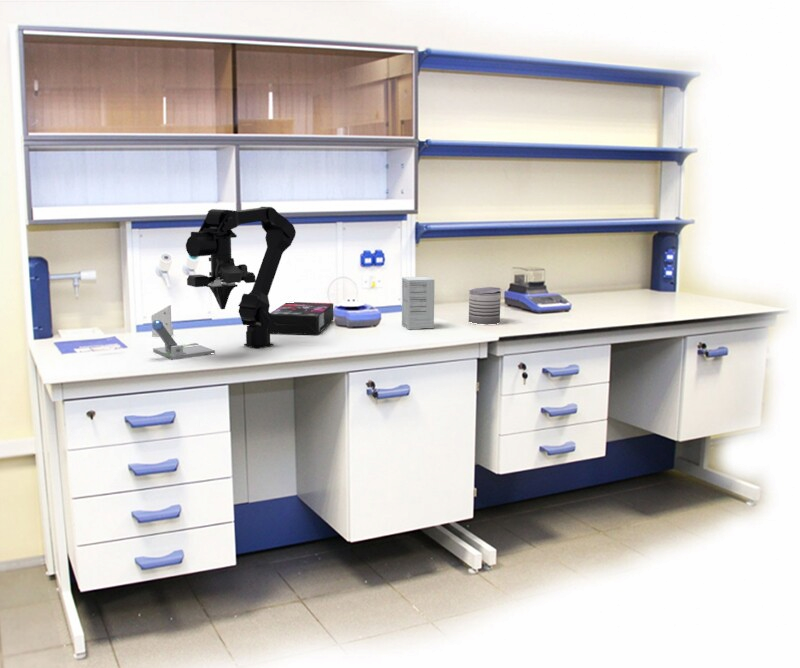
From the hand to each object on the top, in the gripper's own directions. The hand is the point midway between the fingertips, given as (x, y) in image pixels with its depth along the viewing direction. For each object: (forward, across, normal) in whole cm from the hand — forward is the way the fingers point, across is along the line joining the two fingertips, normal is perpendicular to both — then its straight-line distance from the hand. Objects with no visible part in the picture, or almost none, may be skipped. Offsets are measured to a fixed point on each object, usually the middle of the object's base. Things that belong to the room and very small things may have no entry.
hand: (222, 309), depth 241 cm
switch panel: (+13, -9, +8) cm, 18 cm away
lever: (+10, -13, +4) cm, 17 cm away
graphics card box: (+10, +31, +13) cm, 35 cm away
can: (+13, +98, -6) cm, 99 cm away
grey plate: (+13, -3, +36) cm, 38 cm away
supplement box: (+13, +73, 0) cm, 74 cm away
